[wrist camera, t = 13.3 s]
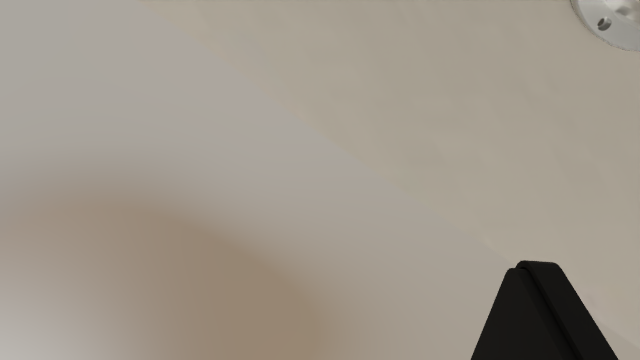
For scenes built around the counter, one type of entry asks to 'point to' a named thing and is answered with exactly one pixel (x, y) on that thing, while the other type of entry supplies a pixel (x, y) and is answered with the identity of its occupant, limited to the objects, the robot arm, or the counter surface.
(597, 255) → the counter surface
